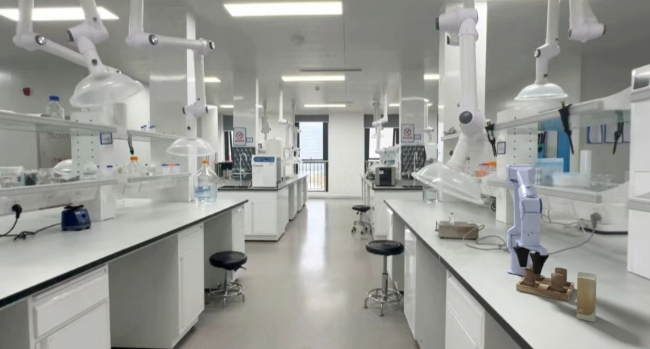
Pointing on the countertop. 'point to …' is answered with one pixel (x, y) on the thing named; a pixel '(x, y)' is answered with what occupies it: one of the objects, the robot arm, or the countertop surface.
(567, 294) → the stool seat
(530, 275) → the loose leg
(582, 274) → the skincare box
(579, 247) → the countertop surface
